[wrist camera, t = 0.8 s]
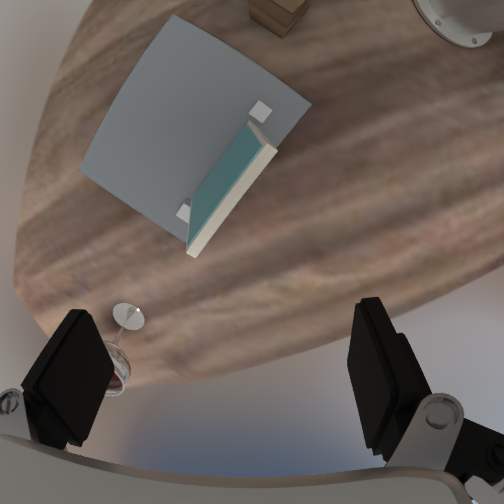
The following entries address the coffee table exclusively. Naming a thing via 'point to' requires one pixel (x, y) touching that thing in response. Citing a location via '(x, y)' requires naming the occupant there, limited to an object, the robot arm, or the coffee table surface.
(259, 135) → the tile
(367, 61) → the coffee table surface
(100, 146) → the board
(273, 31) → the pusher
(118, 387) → the wineglass
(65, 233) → the coffee table surface
